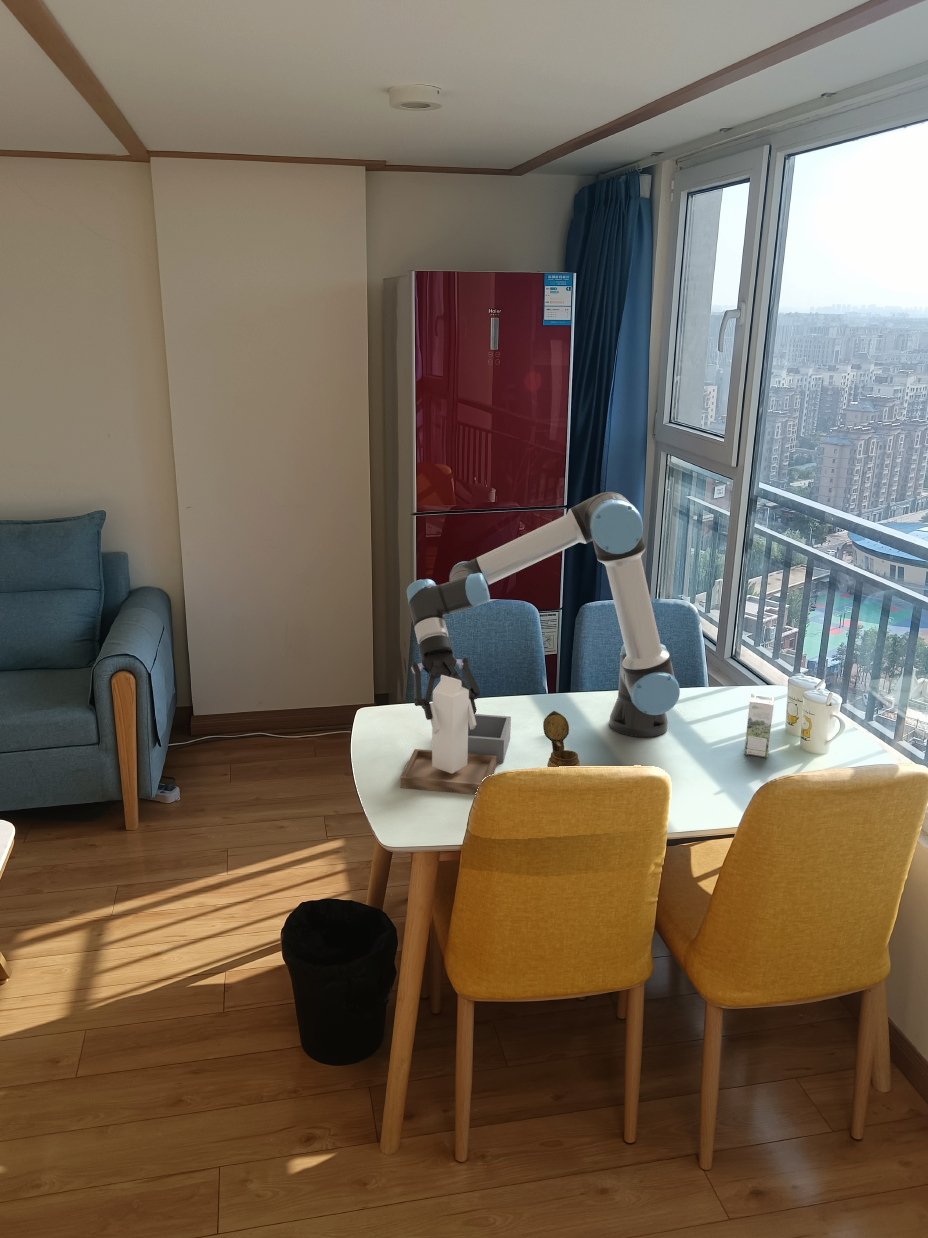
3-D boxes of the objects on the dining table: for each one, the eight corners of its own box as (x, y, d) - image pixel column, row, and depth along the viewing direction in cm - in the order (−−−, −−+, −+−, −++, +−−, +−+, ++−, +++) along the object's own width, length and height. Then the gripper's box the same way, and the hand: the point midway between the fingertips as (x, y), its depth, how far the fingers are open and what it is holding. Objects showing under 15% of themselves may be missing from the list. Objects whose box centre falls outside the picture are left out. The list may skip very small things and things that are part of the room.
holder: (510, 738, 250) (510, 716, 248) (503, 763, 236) (503, 740, 234) (452, 733, 252) (452, 712, 250) (442, 758, 238) (442, 735, 236)
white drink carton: (768, 749, 246) (774, 695, 242) (767, 758, 241) (773, 704, 237) (745, 746, 248) (750, 692, 244) (743, 755, 243) (749, 700, 238)
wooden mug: (568, 780, 227) (572, 708, 222) (588, 808, 215) (593, 732, 209) (531, 784, 225) (534, 711, 220) (549, 811, 213) (553, 735, 208)
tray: (496, 765, 235) (496, 755, 234) (487, 795, 219) (487, 785, 219) (414, 758, 238) (414, 749, 237) (400, 787, 222) (400, 777, 222)
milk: (447, 758, 232) (448, 671, 226) (467, 765, 228) (469, 676, 222) (431, 767, 227) (432, 677, 221) (452, 774, 224) (453, 683, 218)
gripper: (470, 644, 238) (493, 730, 228) (387, 652, 231) (407, 741, 221) (479, 629, 232) (502, 717, 222) (394, 637, 225) (414, 728, 215)
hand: (455, 729), depth 222 cm, fingers closed on milk, 8 cm apart
